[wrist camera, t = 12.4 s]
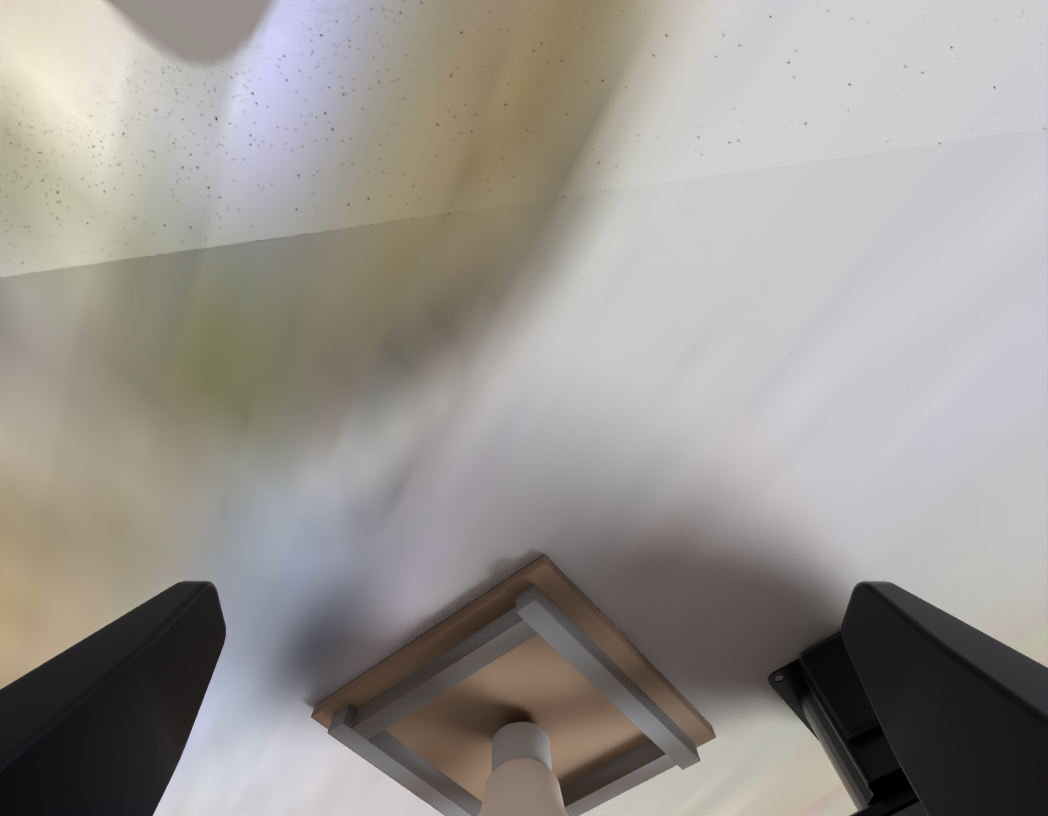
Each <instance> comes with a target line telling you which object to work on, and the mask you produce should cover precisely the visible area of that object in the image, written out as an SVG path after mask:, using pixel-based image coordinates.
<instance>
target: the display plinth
mask: <svg viewBox="0 0 1048 816" xmlns="http://www.w3.org/2000/svg"><path fill="white" fill-rule="evenodd" d="M311 718H313V719H314V720H316V721H317V722H318V723H320V724H321V725H323V726H324V727H325V728H327V729H328V734H329V735H331V736H332V737H334V738H335V739H337V740H338V741H339V742H341V743H342V744H344V745H345V746H347V747H348V748H349V749H351V750H352V751H354V752H355V753H357V754H358V755H359V756H361V757H362V758H364V759H365V760H366V761H368V762H369V763H371V764H372V765H374V766H375V767H376V768H378V769H379V770H381V771H382V772H384V773H385V774H386V775H388V776H389V777H391V778H392V779H394V780H395V781H396V782H398V783H399V784H401V785H402V786H403V787H405V788H406V789H408V790H409V791H411V792H412V793H413V794H415V795H416V796H418V797H419V798H421V799H422V800H423V801H425V802H426V803H428V804H429V805H431V806H432V807H433V808H435V809H436V810H438V811H439V812H440V813H442V814H443V815H445V816H478V814H479V812H480V810H481V808H482V802H483V796H484V789H485V783H486V780H487V779H488V778H489V776H490V775H491V772H492V742H493V737H494V735H495V734H496V733H497V731H498V730H499V729H501V728H502V727H504V726H505V725H507V724H511V723H515V722H529V723H533V724H536V725H538V726H540V727H541V728H542V729H543V730H545V731H546V733H547V735H548V737H549V740H550V751H551V764H552V772H553V773H555V775H556V777H557V780H558V782H559V785H560V790H561V794H562V799H563V803H564V808H565V809H566V811H567V813H568V815H569V816H579V815H581V814H583V813H585V812H587V811H589V810H591V809H593V808H595V807H596V806H598V805H600V804H602V803H604V802H606V801H608V800H610V799H612V798H614V797H616V796H618V795H620V794H622V793H624V792H625V791H627V790H629V789H631V788H633V787H635V786H637V785H639V784H641V783H643V782H645V781H647V780H649V779H651V778H652V777H654V776H656V775H658V774H660V773H662V772H664V771H666V770H668V769H670V768H672V767H674V766H676V765H678V766H679V767H680V768H681V769H685V768H687V767H689V766H691V765H693V764H695V763H697V762H699V761H700V758H699V755H698V752H697V749H696V747H698V746H700V745H702V744H704V743H706V742H708V741H710V740H712V739H714V738H716V736H715V733H714V731H713V728H712V726H711V725H710V724H709V723H708V722H707V721H706V720H705V719H704V718H703V717H702V716H701V715H700V713H699V712H698V711H697V710H696V709H695V708H694V707H693V706H692V705H691V704H690V703H689V702H688V701H687V700H686V699H685V698H684V697H683V696H682V695H681V694H680V693H679V692H678V691H677V690H676V689H675V688H674V687H673V686H672V685H671V684H670V683H669V682H668V681H667V680H666V679H665V678H664V677H663V676H662V674H661V673H660V672H659V671H658V670H657V669H656V668H655V667H654V666H653V665H652V664H651V663H650V662H649V661H648V660H647V659H646V658H645V657H644V656H643V655H642V654H641V653H640V652H639V651H638V650H637V649H636V648H635V647H634V646H633V645H632V644H631V643H630V642H629V641H628V640H627V639H626V638H625V637H624V635H623V634H622V633H621V632H620V631H619V630H618V629H617V628H616V627H615V626H614V625H613V624H612V623H611V622H610V621H609V620H608V619H607V618H606V617H605V616H604V615H603V614H602V613H601V612H600V611H599V610H598V609H597V608H596V607H595V606H594V605H593V604H592V603H591V602H590V601H589V600H588V599H587V598H586V596H585V595H584V594H583V593H582V592H581V591H580V590H579V589H578V588H577V587H576V586H575V585H574V584H573V583H572V582H571V581H570V580H569V579H568V578H567V577H566V576H565V575H564V574H563V573H562V572H561V571H560V570H559V569H558V568H557V567H556V566H555V565H554V564H553V563H552V562H551V561H550V560H549V559H548V557H547V556H546V555H543V556H541V557H540V558H538V559H537V560H535V561H534V562H532V563H531V564H529V565H528V566H526V567H525V568H523V569H522V570H520V571H519V572H517V573H516V574H514V575H513V576H511V577H510V578H508V579H507V580H505V581H504V582H502V583H501V584H499V585H498V586H496V587H495V588H493V589H491V590H490V591H488V592H487V593H485V594H484V595H482V596H481V597H479V598H478V599H476V600H475V601H473V602H472V603H470V604H469V605H467V606H466V607H464V608H463V609H461V610H460V611H458V612H457V613H455V614H454V615H452V616H451V617H449V618H448V619H446V620H444V621H443V622H441V623H440V624H438V625H437V626H435V627H434V628H432V629H431V630H429V631H428V632H426V633H425V634H423V635H422V636H420V637H419V638H417V639H416V640H414V641H413V642H411V643H410V644H408V645H407V646H405V647H404V648H402V649H401V650H399V651H398V652H396V653H394V654H393V655H391V656H390V657H388V658H387V659H385V660H384V661H382V662H381V663H379V664H378V665H376V666H375V667H373V668H372V669H370V670H369V671H367V672H366V673H364V674H363V675H361V676H360V677H358V678H357V679H355V680H354V681H352V682H351V683H349V684H348V685H346V686H344V687H343V688H341V689H340V690H338V691H337V692H335V693H334V694H332V695H331V696H329V697H328V698H326V699H325V700H323V701H322V702H320V703H319V704H317V705H316V706H315V707H314V710H313V713H312V716H311Z"/></svg>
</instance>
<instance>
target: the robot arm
mask: <svg viewBox="0 0 1048 816" xmlns="http://www.w3.org/2000/svg"><path fill="white" fill-rule="evenodd" d="M841 632H842V633H840V634H838V635H836V636H834V637H832V638H831V639H829V640H827V641H825V642H823V643H821V644H819V645H818V646H816V647H814V648H812V649H810V650H808V651H806V652H805V653H803V654H801V655H800V657H799V659H797V660H795V661H793V662H791V663H790V664H788V665H786V666H784V667H782V668H780V669H778V670H777V671H775V672H773V673H772V674H770V676H769V677H768V681H769V683H770V685H771V686H772V687H773V688H774V689H775V690H776V691H777V693H778V694H779V695H780V696H781V697H782V698H783V700H784V701H785V702H786V703H787V704H788V705H789V706H790V708H791V709H792V710H793V711H794V712H795V713H796V715H797V716H798V717H799V718H800V719H801V720H802V721H803V723H804V724H805V725H806V726H807V727H808V728H809V730H810V731H811V732H812V733H813V734H814V735H815V736H816V738H817V739H818V740H819V741H820V743H821V745H822V747H823V748H824V750H825V752H826V754H827V756H828V757H829V759H830V761H831V763H832V765H833V766H834V768H835V770H836V772H837V774H838V775H839V777H840V779H841V781H842V783H843V784H844V786H845V788H846V790H847V792H848V793H849V795H850V797H851V799H852V801H853V803H854V804H855V806H856V808H857V810H858V811H857V812H856V813H854V814H852V815H850V816H1048V668H1047V667H1045V666H1044V665H1042V664H1040V663H1038V662H1036V661H1034V660H1033V659H1031V658H1029V657H1027V656H1025V655H1023V654H1022V653H1020V652H1018V651H1016V650H1014V649H1012V648H1011V647H1009V646H1007V645H1005V644H1003V643H1001V642H999V641H998V640H996V639H994V638H992V637H990V636H988V635H987V634H985V633H983V632H981V631H979V630H977V629H976V628H974V627H972V626H970V625H968V624H966V623H965V622H963V621H961V620H959V619H957V618H955V617H954V616H952V615H950V614H948V613H946V612H944V611H943V610H941V609H939V608H937V607H935V606H933V605H932V604H930V603H928V602H926V601H924V600H922V599H920V598H919V597H917V596H915V595H913V594H911V593H909V592H908V591H906V590H904V589H902V588H900V587H898V586H897V585H895V584H893V583H890V582H885V581H863V582H860V583H858V584H857V585H856V586H855V587H854V589H853V592H852V595H851V598H850V601H849V604H848V607H847V610H846V613H845V616H844V619H843V622H842V629H841ZM225 636H226V626H225V621H224V617H223V613H222V609H221V605H220V601H219V596H218V592H217V589H216V587H215V585H214V584H213V583H211V582H209V581H183V582H179V583H177V584H175V585H173V586H171V587H170V588H168V589H166V590H165V591H163V592H161V593H160V594H158V595H156V596H155V597H153V598H151V599H150V600H148V601H146V602H145V603H143V604H141V605H140V606H138V607H136V608H135V609H133V610H132V611H130V612H128V613H127V614H125V615H123V616H122V617H120V618H118V619H117V620H115V621H113V622H112V623H110V624H108V625H107V626H105V627H103V628H102V629H100V630H98V631H97V632H95V633H93V634H92V635H90V636H88V637H87V638H85V639H83V640H82V641H80V642H78V643H77V644H75V645H74V646H72V647H70V648H69V649H67V650H65V651H64V652H62V653H60V654H59V655H57V656H55V657H54V658H52V659H50V660H49V661H47V662H45V663H44V664H42V665H40V666H39V667H37V668H35V669H34V670H32V671H30V672H29V673H27V674H25V675H24V676H22V677H20V678H19V679H17V680H15V681H14V682H12V683H11V684H9V685H7V686H6V687H4V688H2V689H1V690H0V816H153V814H154V812H155V810H156V808H157V806H158V804H159V802H160V800H161V798H162V796H163V794H164V792H165V790H166V788H167V785H168V783H169V781H170V779H171V777H172V775H173V773H174V771H175V769H176V766H177V764H178V762H179V760H180V758H181V755H182V753H183V750H184V748H185V745H186V743H187V740H188V738H189V735H190V733H191V730H192V727H193V725H194V722H195V719H196V717H197V714H198V711H199V709H200V706H201V704H202V701H203V698H204V696H205V693H206V690H207V688H208V685H209V682H210V680H211V677H212V675H213V672H214V669H215V667H216V664H217V661H218V659H219V656H220V653H221V651H222V648H223V645H224V642H225ZM779 675H782V676H783V677H784V678H783V679H782V680H781V681H778V682H776V681H774V678H775V677H776V676H779Z"/></svg>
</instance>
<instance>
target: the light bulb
mask: <svg viewBox="0 0 1048 816" xmlns="http://www.w3.org/2000/svg"><path fill="white" fill-rule="evenodd" d="M478 816H569V815H568V813H567V811H566V809H565V808H564V803H563V799H562V794H561V790H560V785H559V782H558V780H557V777H556V775H555V773H553V772H552V764H551V751H550V740H549V737H548V735H547V733H546V731H545V730H543V729H542V728H541V727H540V726H538V725H536V724H533V723H529V722H515V723H511V724H507V725H505V726H504V727H502V728H501V729H499V730H498V731H497V733H496V734H495V735H494V737H493V742H492V772H491V775H490V776H489V778H488V779H487V780H486V783H485V789H484V796H483V802H482V808H481V810H480V812H479V814H478Z"/></svg>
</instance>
